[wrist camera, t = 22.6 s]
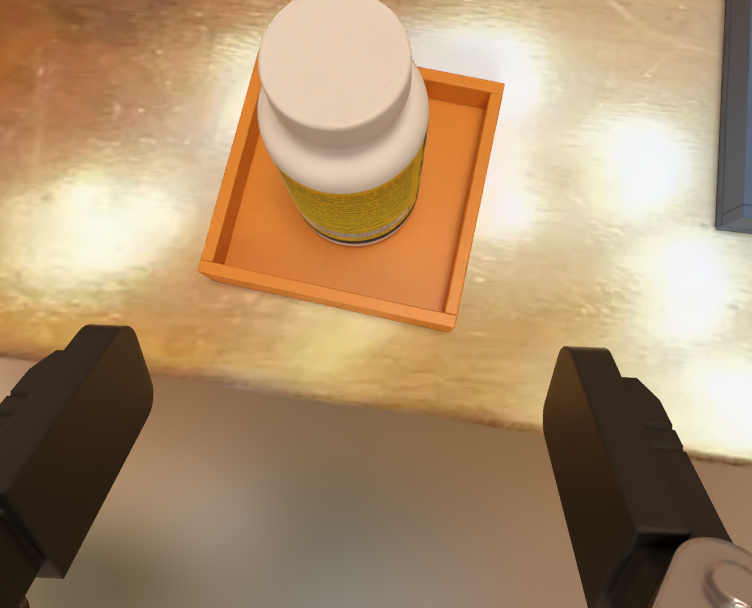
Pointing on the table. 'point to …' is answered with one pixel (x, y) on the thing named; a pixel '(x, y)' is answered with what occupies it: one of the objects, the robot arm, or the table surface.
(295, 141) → the pill bottle
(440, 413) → the table surface
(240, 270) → the amber tray
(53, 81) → the table surface
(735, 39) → the slate-blue tray
